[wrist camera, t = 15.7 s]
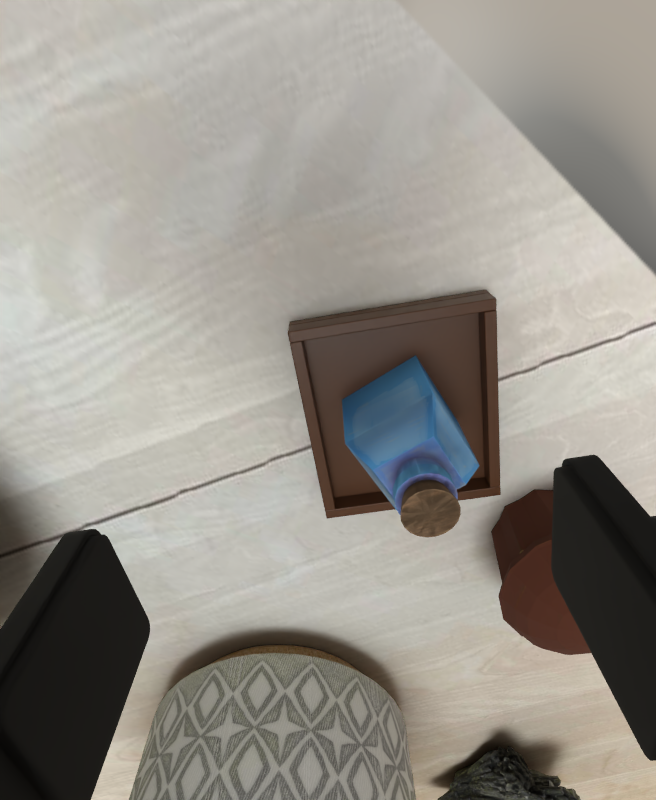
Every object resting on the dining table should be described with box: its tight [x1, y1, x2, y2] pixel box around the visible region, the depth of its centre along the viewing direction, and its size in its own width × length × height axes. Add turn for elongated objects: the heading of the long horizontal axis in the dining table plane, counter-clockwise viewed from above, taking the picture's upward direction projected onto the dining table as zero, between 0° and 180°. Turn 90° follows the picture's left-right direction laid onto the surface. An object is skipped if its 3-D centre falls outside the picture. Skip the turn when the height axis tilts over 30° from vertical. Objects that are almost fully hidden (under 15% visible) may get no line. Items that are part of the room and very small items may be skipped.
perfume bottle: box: [342, 355, 479, 537], centre depth 32 cm, size 6×6×12 cm
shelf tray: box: [288, 290, 500, 518], centre depth 37 cm, size 16×14×2 cm
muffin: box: [491, 490, 591, 655], centre depth 39 cm, size 12×11×10 cm
